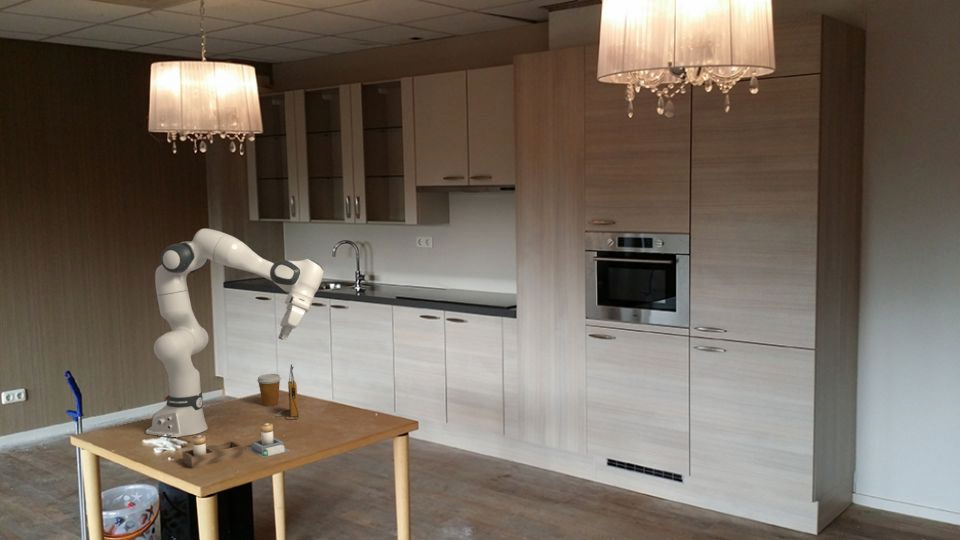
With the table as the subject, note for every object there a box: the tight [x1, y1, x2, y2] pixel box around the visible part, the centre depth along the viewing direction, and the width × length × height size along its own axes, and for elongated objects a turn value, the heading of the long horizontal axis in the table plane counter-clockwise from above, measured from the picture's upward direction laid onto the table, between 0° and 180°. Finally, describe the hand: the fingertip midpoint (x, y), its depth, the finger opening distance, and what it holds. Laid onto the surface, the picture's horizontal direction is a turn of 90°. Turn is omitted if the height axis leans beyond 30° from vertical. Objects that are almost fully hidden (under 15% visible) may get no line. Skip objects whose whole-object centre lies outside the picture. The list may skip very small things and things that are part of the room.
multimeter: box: [274, 363, 299, 421], centre depth 334 cm, size 15×10×20 cm
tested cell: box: [260, 422, 274, 446], centre depth 290 cm, size 4×4×9 cm
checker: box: [246, 436, 291, 458], centre depth 290 cm, size 10×14×4 cm
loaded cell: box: [192, 434, 207, 456], centre depth 278 cm, size 4×4×9 cm
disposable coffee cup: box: [256, 373, 282, 407], centre depth 353 cm, size 10×10×12 cm
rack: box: [182, 440, 245, 469], centre depth 282 cm, size 18×8×4 cm, turn 129°
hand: (282, 339), depth 298 cm, fingers open, 8 cm apart
